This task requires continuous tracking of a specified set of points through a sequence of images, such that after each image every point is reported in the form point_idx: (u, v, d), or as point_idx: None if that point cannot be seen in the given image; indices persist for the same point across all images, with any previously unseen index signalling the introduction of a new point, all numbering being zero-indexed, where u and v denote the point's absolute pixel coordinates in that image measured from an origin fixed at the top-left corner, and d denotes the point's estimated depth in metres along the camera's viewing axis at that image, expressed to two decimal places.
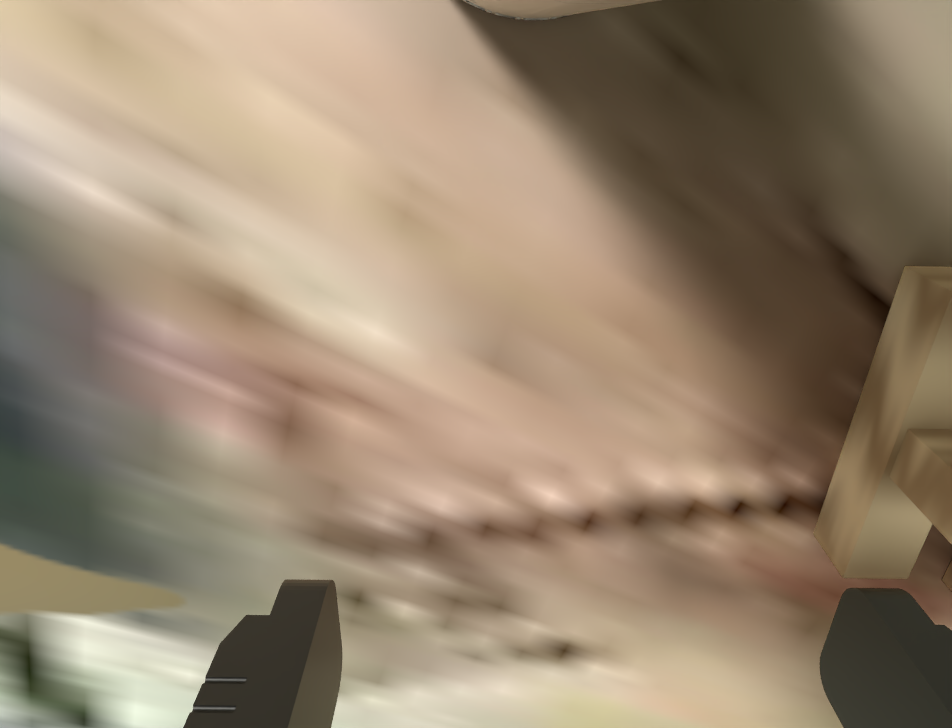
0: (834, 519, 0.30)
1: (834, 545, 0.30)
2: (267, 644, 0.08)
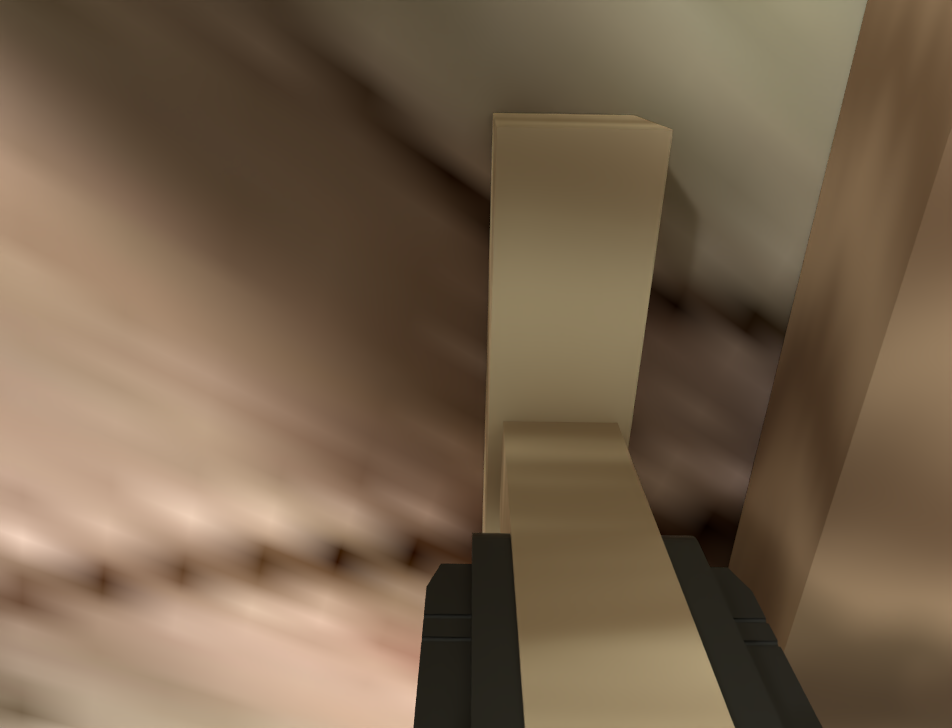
0: None
1: None
2: (478, 584, 0.09)
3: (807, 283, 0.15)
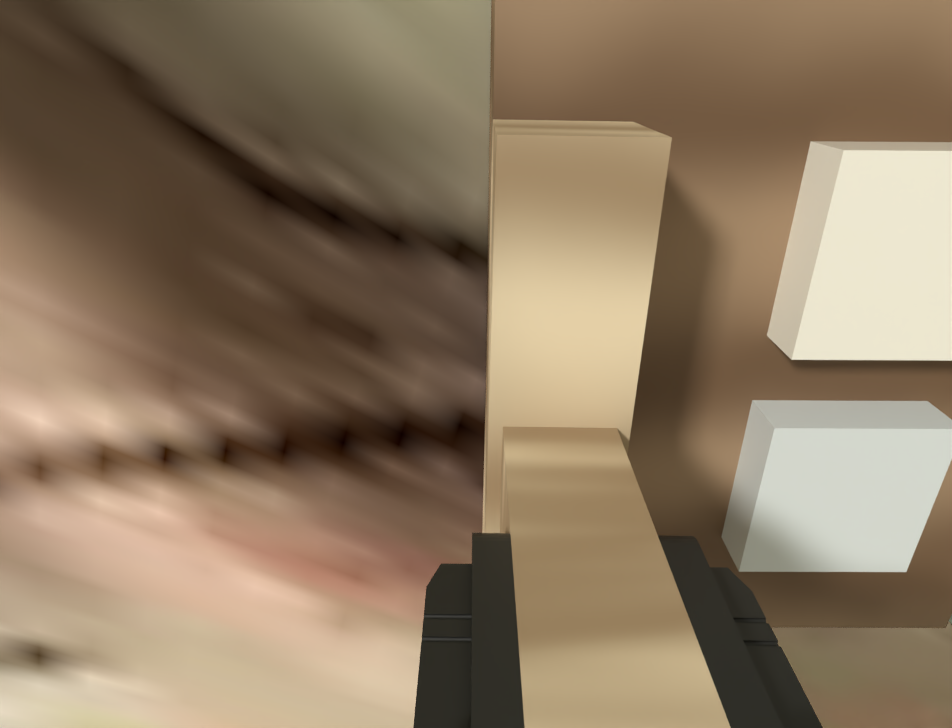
0: None
1: None
2: (478, 585, 0.09)
3: (488, 217, 0.19)
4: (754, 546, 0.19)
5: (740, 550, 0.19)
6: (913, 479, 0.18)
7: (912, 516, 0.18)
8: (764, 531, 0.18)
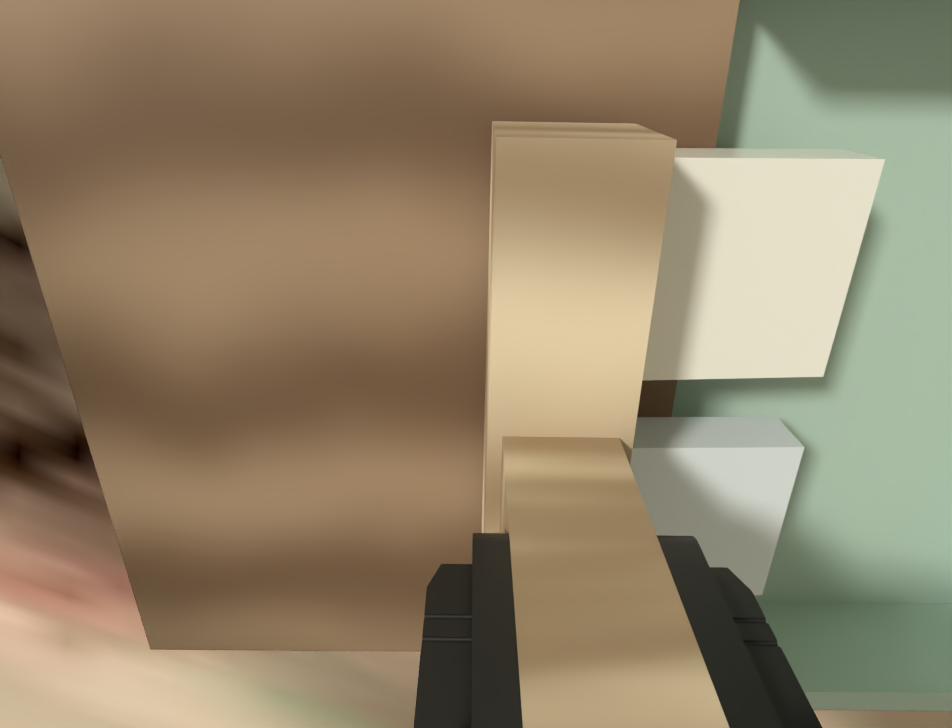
0: None
1: None
2: (479, 585, 0.09)
3: None
4: None
5: None
6: (758, 500, 0.17)
7: (762, 538, 0.17)
8: None
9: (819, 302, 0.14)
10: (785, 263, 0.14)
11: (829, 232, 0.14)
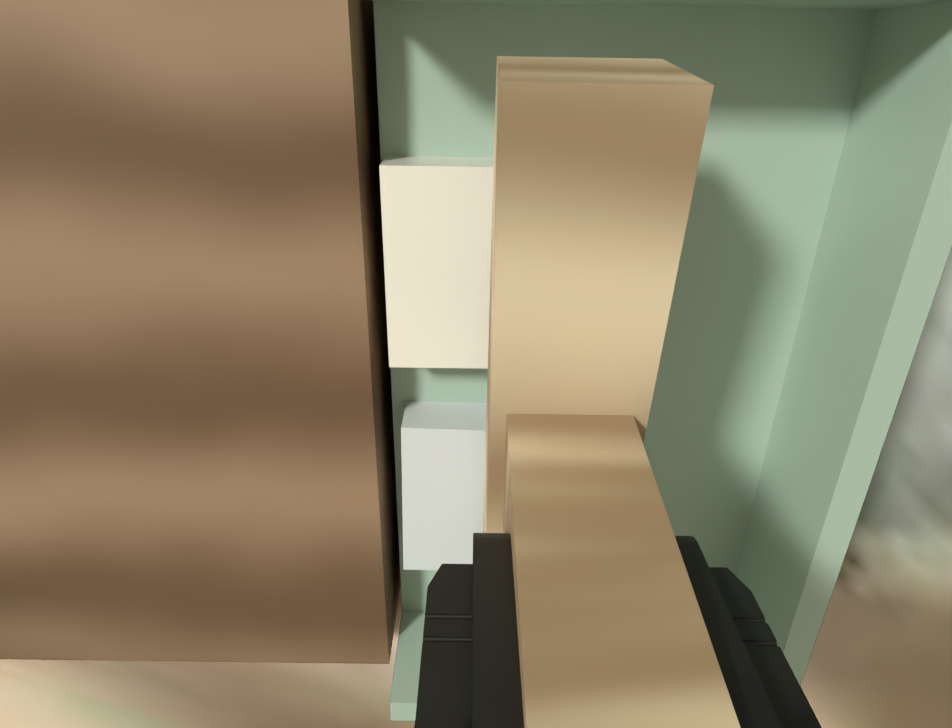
0: None
1: None
2: (480, 585, 0.09)
3: None
4: (412, 544, 0.19)
5: None
6: None
7: None
8: (418, 530, 0.19)
9: None
10: None
11: None
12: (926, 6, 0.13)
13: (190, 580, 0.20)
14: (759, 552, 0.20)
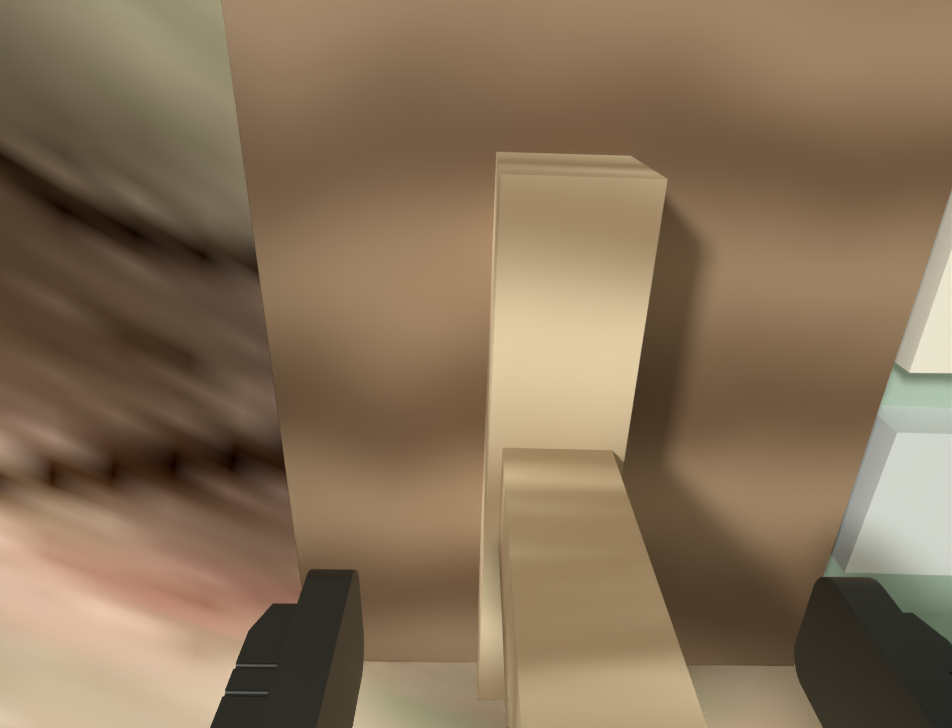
0: (479, 597, 0.18)
1: (478, 641, 0.18)
2: (296, 631, 0.09)
3: None
4: (863, 548, 0.19)
5: (847, 551, 0.19)
6: None
7: None
8: (874, 533, 0.19)
9: None
10: None
11: None
12: None
13: None
14: None
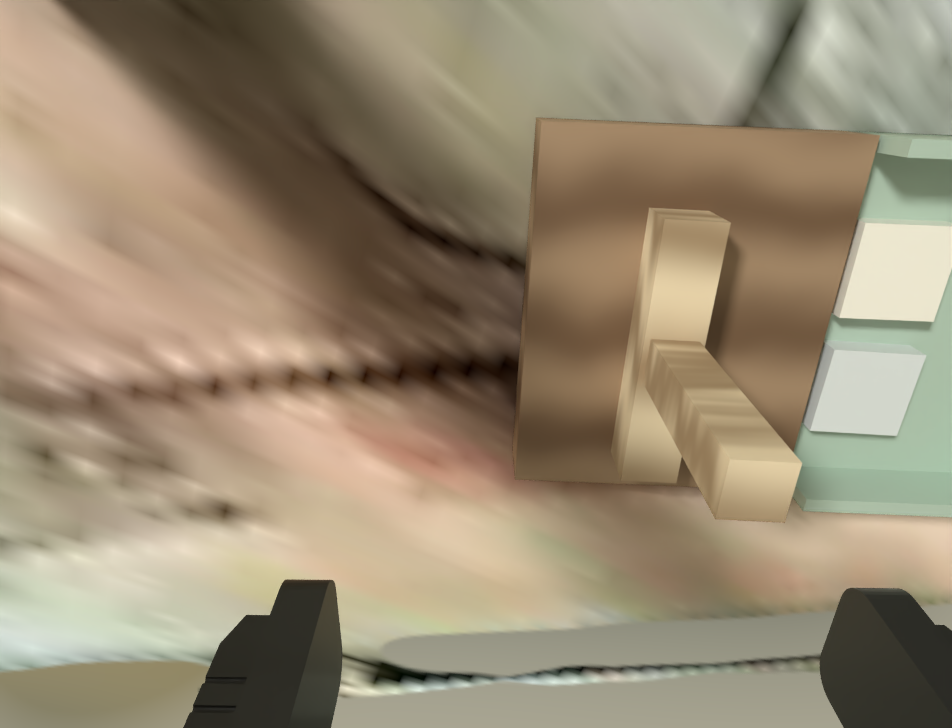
0: (619, 433, 0.35)
1: (618, 455, 0.35)
2: (267, 644, 0.08)
3: (527, 244, 0.36)
4: (819, 416, 0.36)
5: (811, 419, 0.36)
6: (901, 381, 0.35)
7: (900, 403, 0.36)
8: (825, 407, 0.36)
9: (934, 286, 0.33)
10: (919, 268, 0.33)
11: (940, 256, 0.32)
12: None
13: None
14: None
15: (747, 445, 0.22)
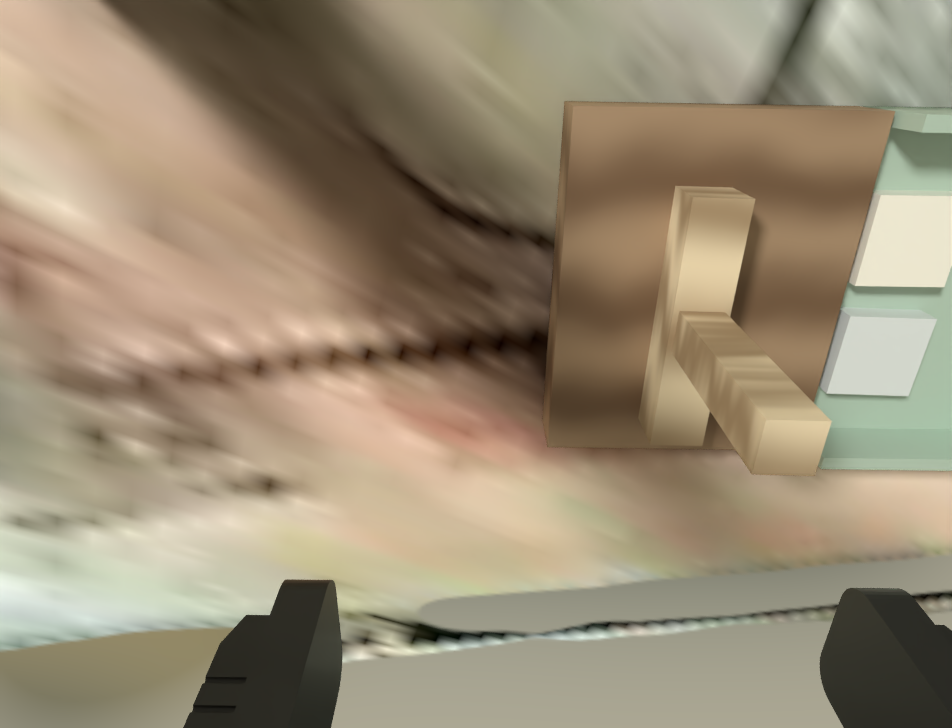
0: (647, 400, 0.37)
1: (647, 421, 0.37)
2: (267, 644, 0.08)
3: (556, 223, 0.37)
4: (835, 379, 0.38)
5: (827, 382, 0.39)
6: (913, 345, 0.37)
7: (912, 365, 0.38)
8: (841, 371, 0.38)
9: (944, 254, 0.35)
10: (931, 237, 0.34)
11: (951, 225, 0.34)
12: None
13: None
14: None
15: (780, 407, 0.24)
